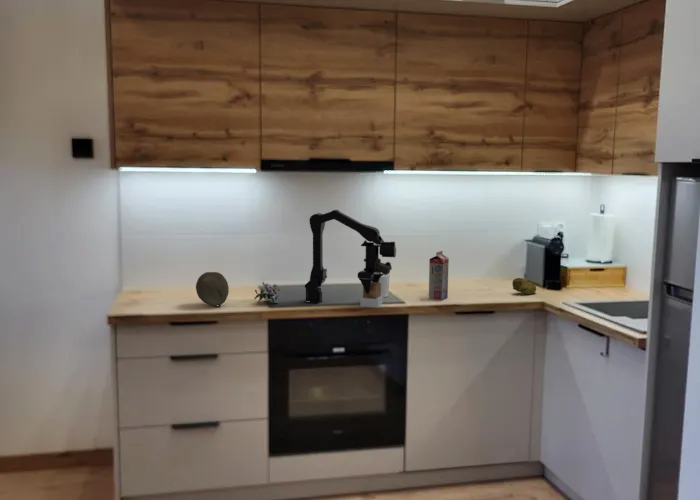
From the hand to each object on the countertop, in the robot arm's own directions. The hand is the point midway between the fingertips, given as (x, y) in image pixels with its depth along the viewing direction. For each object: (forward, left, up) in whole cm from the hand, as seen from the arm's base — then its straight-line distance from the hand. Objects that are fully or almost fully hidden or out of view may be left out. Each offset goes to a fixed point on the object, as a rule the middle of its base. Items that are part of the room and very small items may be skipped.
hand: (371, 291), depth 291 cm
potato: (+58, +54, -6) cm, 80 cm away
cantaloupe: (-62, -31, -6) cm, 70 cm away
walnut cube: (0, 0, -2) cm, 2 cm away
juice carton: (+23, +26, -6) cm, 35 cm away
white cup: (-3, +20, -6) cm, 21 cm away
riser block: (0, 0, -6) cm, 6 cm away
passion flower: (-43, -17, -6) cm, 47 cm away
